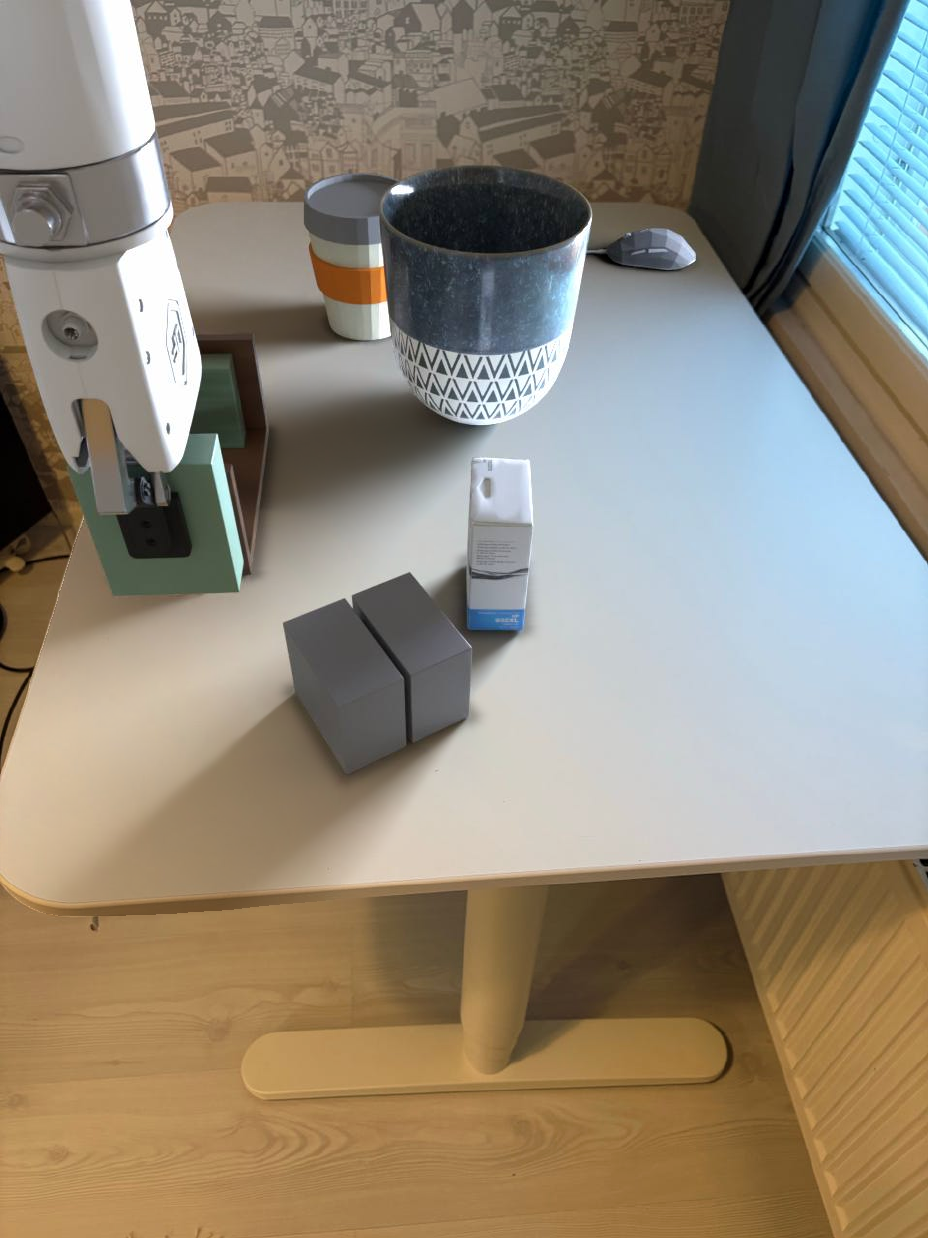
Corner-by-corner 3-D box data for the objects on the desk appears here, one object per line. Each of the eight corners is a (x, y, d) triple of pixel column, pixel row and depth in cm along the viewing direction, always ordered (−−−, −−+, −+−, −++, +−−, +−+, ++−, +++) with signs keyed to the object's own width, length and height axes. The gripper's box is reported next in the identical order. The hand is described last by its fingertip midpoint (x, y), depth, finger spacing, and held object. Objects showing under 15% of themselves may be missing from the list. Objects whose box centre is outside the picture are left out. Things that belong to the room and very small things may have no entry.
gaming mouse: (585, 243, 126) (589, 213, 123) (693, 252, 125) (699, 223, 122) (583, 263, 122) (586, 234, 119) (694, 273, 121) (701, 244, 118)
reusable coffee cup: (333, 357, 105) (322, 226, 94) (300, 306, 112) (286, 181, 101) (434, 336, 108) (434, 208, 97) (395, 288, 116) (391, 165, 105)
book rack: (251, 574, 80) (230, 472, 72) (123, 578, 79) (87, 476, 71) (269, 431, 95) (253, 332, 86) (161, 433, 94) (135, 334, 86)
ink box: (524, 632, 76) (535, 525, 68) (465, 631, 76) (469, 524, 68) (520, 562, 82) (531, 456, 73) (466, 560, 82) (470, 454, 73)
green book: (239, 593, 51) (211, 463, 45) (112, 596, 51) (65, 467, 44) (243, 561, 53) (217, 432, 47) (121, 565, 53) (77, 435, 46)
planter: (602, 429, 96) (635, 227, 81) (440, 482, 89) (441, 273, 74) (507, 343, 108) (520, 151, 92) (357, 384, 101) (343, 185, 85)
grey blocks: (346, 775, 66) (338, 708, 60) (294, 691, 71) (282, 622, 65) (469, 716, 70) (472, 647, 64) (411, 641, 75) (409, 571, 69)
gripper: (128, 280, 31) (220, 642, 44) (192, 112, 42) (250, 443, 55) (-102, 282, 30) (61, 647, 44) (24, 112, 41) (123, 445, 55)
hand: (166, 531), depth 49 cm, fingers closed on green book, 2 cm apart
